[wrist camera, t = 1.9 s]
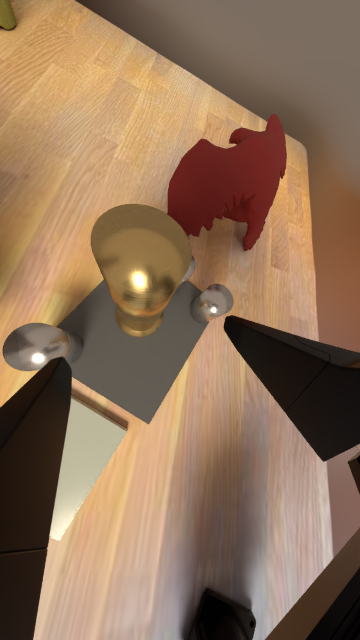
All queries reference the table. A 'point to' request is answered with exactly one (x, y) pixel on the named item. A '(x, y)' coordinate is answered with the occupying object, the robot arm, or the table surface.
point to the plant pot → (6, 15)
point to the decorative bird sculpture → (229, 181)
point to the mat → (132, 350)
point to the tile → (82, 460)
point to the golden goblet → (140, 263)
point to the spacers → (51, 342)
